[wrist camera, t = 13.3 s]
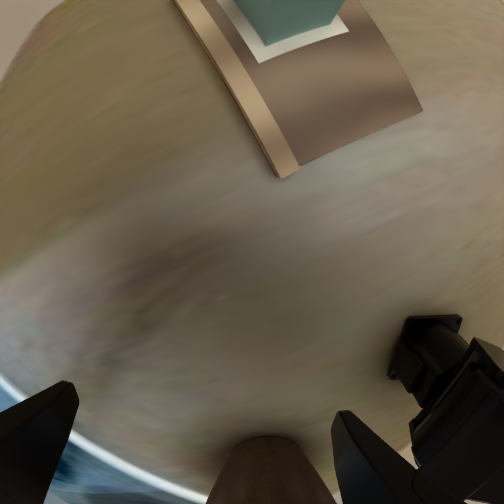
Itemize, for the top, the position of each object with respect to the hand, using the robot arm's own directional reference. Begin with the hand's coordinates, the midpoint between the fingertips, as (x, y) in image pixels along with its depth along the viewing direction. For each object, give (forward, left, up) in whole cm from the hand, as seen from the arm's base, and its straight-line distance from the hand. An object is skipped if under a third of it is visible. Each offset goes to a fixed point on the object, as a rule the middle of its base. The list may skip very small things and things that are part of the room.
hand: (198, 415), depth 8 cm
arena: (-4, -17, -13) cm, 22 cm away
